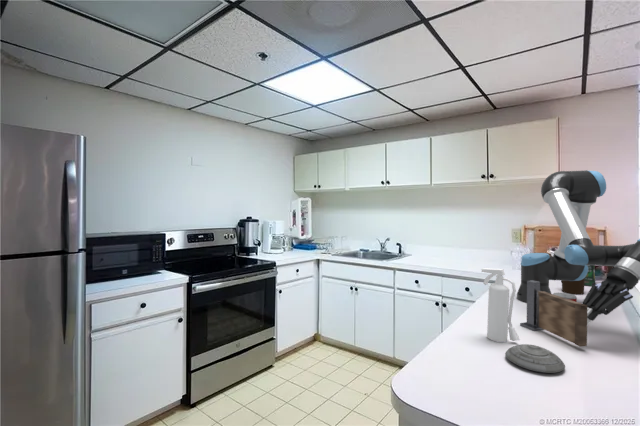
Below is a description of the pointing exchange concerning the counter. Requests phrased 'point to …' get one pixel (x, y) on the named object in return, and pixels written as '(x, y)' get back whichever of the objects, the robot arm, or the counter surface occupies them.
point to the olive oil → (573, 287)
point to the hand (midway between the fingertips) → (579, 324)
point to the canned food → (567, 296)
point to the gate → (562, 317)
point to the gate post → (532, 306)
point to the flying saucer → (535, 358)
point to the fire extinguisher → (499, 307)
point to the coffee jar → (590, 275)
